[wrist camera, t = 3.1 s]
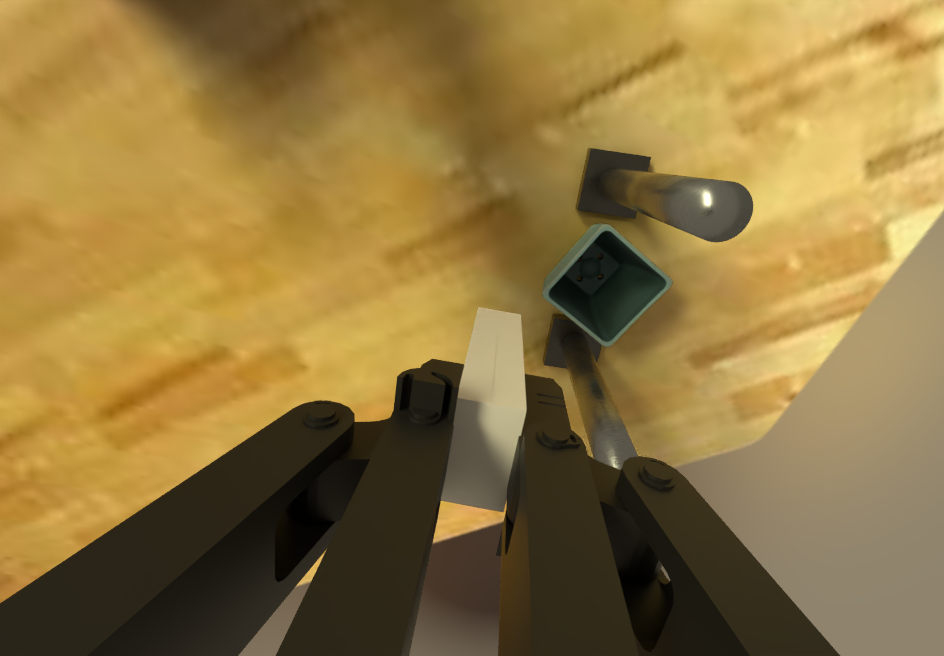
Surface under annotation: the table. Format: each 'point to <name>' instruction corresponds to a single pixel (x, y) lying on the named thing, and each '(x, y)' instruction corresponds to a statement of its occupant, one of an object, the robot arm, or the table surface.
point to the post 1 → (589, 390)
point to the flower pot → (604, 284)
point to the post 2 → (663, 196)
